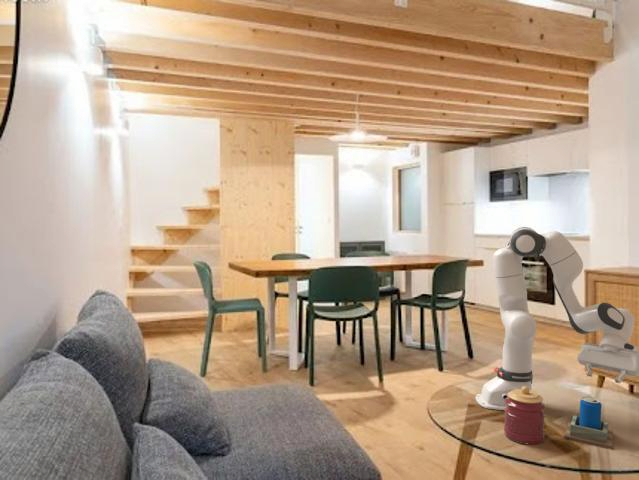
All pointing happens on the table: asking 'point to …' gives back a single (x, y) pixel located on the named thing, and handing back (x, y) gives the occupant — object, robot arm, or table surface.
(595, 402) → the beverage can
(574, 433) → the cradle
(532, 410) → the canister
